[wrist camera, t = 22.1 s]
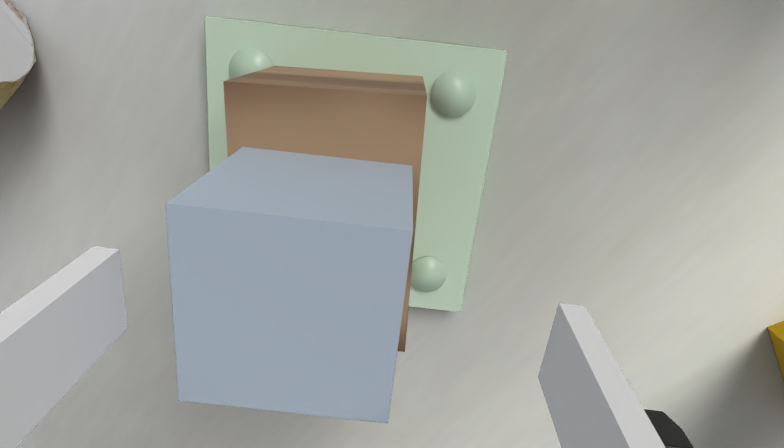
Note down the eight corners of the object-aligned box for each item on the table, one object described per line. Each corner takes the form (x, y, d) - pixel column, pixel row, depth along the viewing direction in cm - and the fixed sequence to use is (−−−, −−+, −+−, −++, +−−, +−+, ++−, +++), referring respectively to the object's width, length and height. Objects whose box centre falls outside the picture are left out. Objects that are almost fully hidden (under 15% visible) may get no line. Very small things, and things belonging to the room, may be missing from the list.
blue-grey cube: (243, 146, 21) (165, 202, 14) (412, 165, 21) (412, 230, 14) (243, 295, 23) (178, 400, 17) (394, 311, 23) (387, 423, 17)
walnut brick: (274, 65, 27) (223, 81, 20) (422, 76, 27) (427, 95, 20) (279, 265, 32) (238, 339, 24) (406, 274, 31) (404, 351, 24)
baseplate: (213, 16, 27) (203, 16, 26) (503, 50, 28) (508, 51, 26) (219, 275, 33) (211, 286, 32) (458, 302, 33) (460, 314, 32)
